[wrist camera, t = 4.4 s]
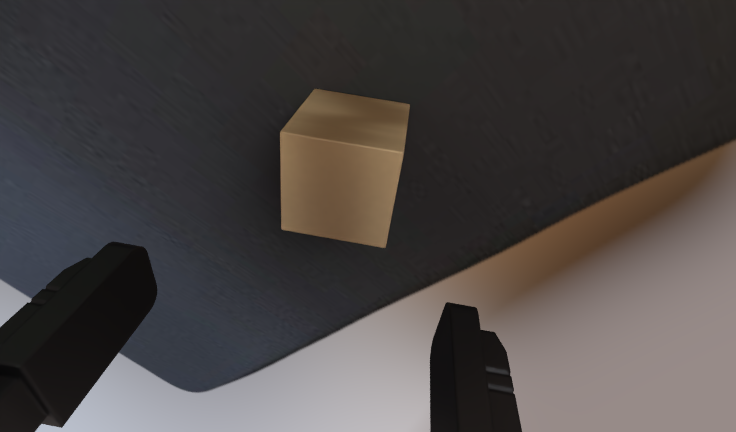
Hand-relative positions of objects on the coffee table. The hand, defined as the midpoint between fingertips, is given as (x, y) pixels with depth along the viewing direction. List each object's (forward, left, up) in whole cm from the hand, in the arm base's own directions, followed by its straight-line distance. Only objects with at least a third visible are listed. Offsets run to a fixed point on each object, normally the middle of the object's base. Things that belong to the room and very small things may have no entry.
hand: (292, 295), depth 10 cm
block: (0, 0, -10) cm, 10 cm away
